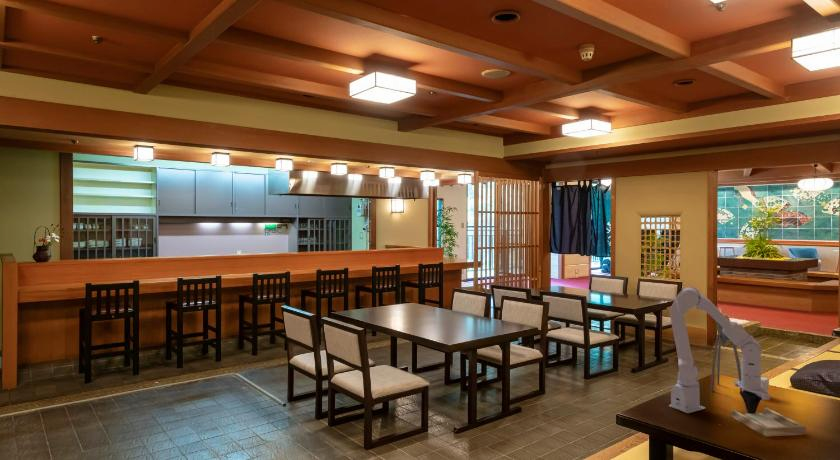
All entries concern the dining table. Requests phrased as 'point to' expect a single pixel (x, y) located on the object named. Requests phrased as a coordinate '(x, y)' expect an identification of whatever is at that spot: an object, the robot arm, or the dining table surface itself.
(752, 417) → the celadon tile
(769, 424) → the cream tile
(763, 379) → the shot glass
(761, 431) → the box
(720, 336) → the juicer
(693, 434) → the dining table surface
